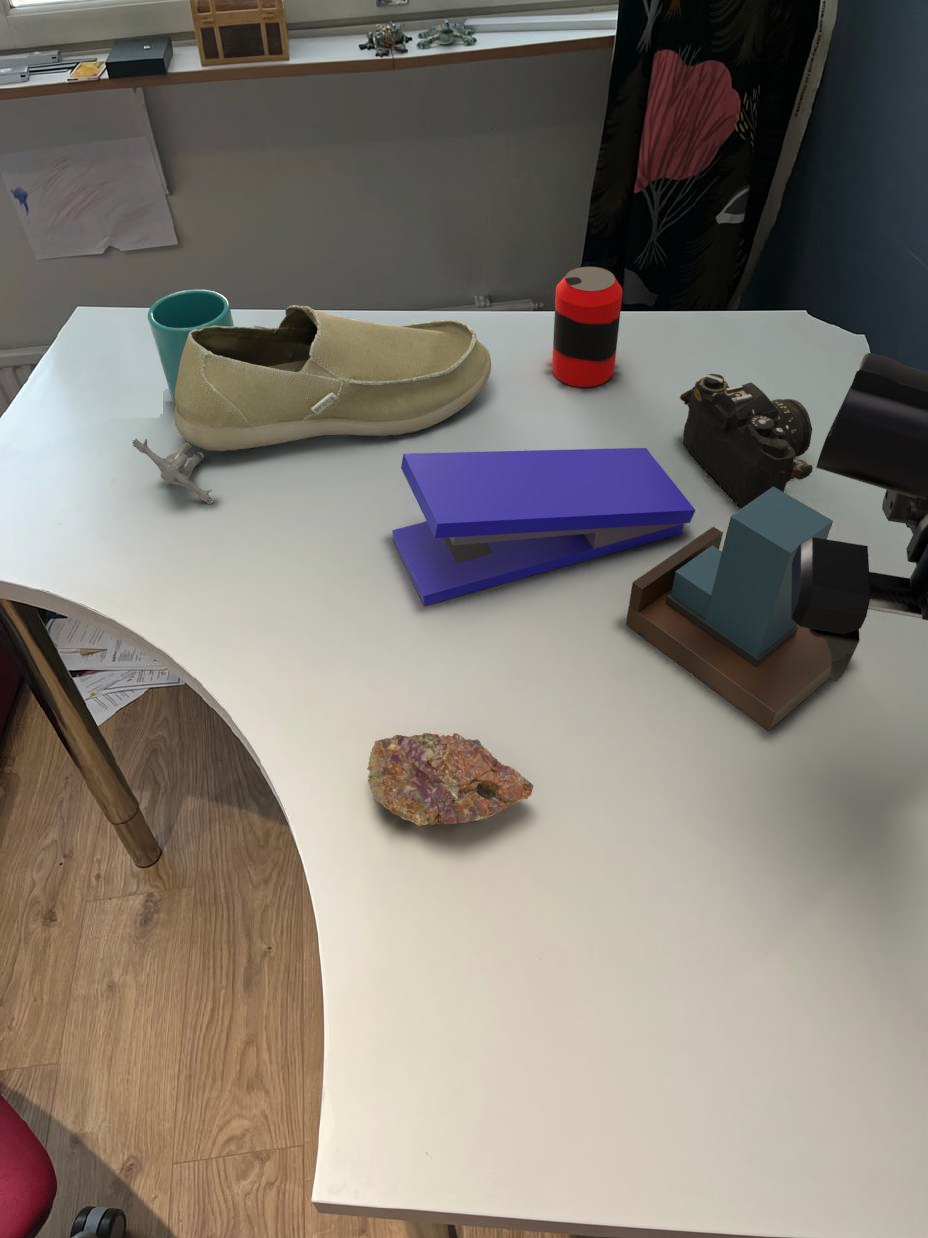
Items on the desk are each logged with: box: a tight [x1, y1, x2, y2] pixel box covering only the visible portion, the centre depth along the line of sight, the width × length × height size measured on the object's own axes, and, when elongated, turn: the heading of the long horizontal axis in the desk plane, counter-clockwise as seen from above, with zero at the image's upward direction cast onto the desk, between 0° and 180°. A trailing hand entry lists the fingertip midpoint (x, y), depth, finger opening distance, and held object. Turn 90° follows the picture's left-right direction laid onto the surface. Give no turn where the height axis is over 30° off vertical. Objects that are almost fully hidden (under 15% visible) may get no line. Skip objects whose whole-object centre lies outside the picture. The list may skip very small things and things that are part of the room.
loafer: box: [174, 305, 492, 452], centre depth 103 cm, size 14×37×13 cm, turn 112°
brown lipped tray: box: [625, 526, 831, 731], centre depth 81 cm, size 16×11×6 cm
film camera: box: [679, 373, 813, 509], centre depth 96 cm, size 18×12×10 cm
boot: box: [666, 487, 834, 667], centre depth 77 cm, size 10×6×13 cm, turn 41°
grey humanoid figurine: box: [131, 437, 215, 505], centre depth 98 cm, size 10×6×9 cm
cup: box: [147, 289, 235, 405], centre depth 109 cm, size 9×12×11 cm
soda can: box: [551, 266, 623, 388], centre depth 109 cm, size 8×8×12 cm
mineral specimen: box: [366, 732, 534, 827], centre depth 71 cm, size 12×8×7 cm
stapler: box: [391, 447, 696, 607], centre depth 90 cm, size 12×28×10 cm, turn 110°
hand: (903, 688), depth 63 cm, fingers open, 9 cm apart
